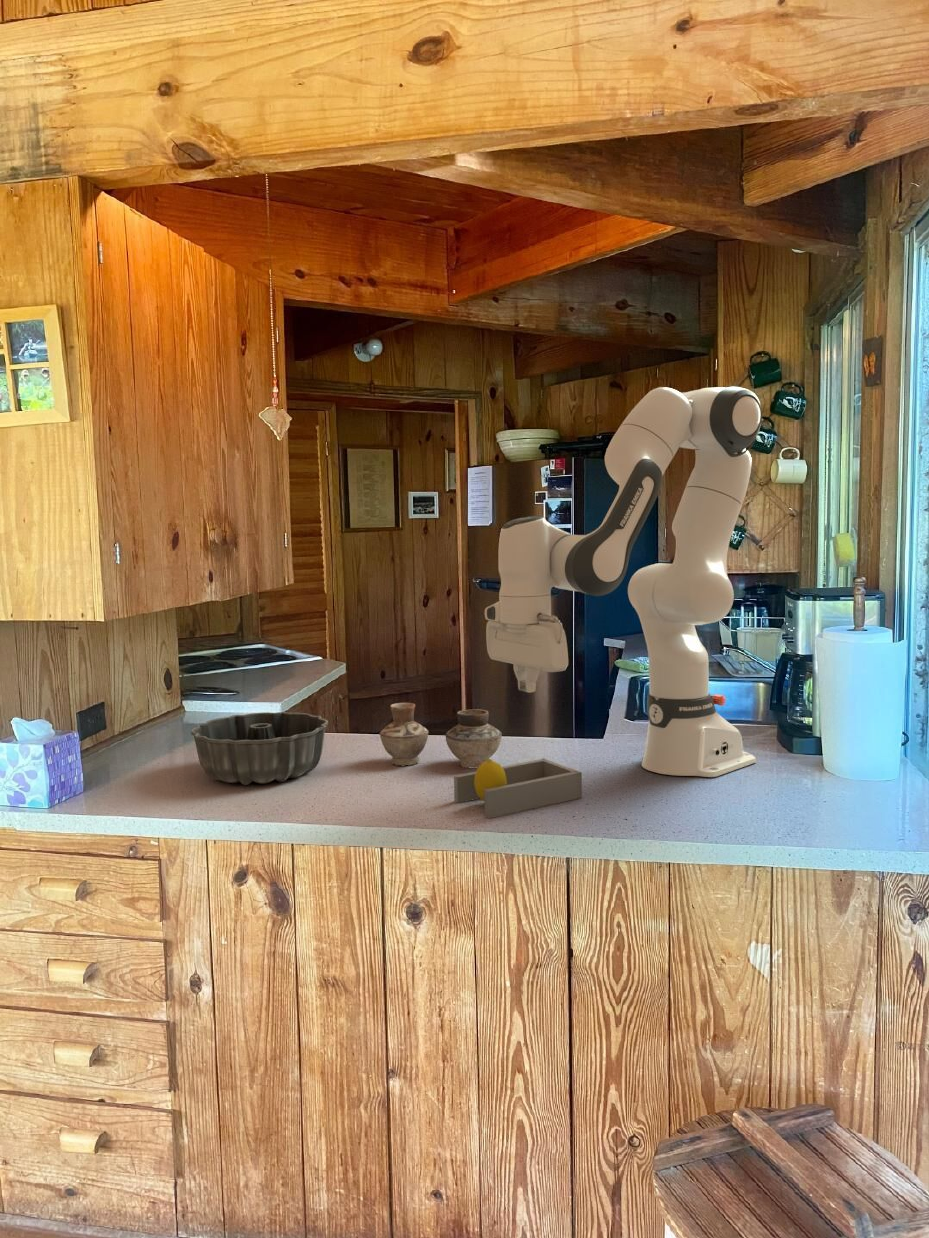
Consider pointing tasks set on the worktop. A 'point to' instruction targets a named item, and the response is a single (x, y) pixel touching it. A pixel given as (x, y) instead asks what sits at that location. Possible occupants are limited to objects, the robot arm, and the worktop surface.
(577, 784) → the trough
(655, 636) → the robot arm
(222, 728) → the bundt pan
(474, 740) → the pottery
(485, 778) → the lemon
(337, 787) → the worktop surface
